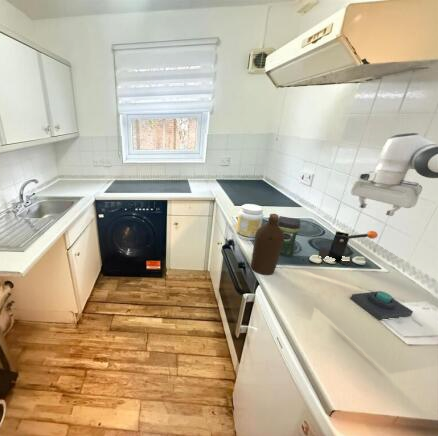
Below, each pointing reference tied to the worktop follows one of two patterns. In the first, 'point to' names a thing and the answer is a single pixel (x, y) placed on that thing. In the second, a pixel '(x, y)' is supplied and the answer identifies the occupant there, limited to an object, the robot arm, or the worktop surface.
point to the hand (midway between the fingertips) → (375, 211)
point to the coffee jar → (288, 234)
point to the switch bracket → (337, 249)
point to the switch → (364, 235)
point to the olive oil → (267, 247)
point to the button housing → (380, 306)
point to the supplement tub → (249, 221)
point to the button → (384, 297)
